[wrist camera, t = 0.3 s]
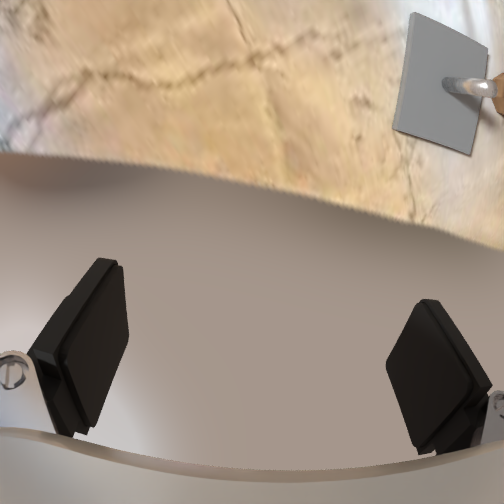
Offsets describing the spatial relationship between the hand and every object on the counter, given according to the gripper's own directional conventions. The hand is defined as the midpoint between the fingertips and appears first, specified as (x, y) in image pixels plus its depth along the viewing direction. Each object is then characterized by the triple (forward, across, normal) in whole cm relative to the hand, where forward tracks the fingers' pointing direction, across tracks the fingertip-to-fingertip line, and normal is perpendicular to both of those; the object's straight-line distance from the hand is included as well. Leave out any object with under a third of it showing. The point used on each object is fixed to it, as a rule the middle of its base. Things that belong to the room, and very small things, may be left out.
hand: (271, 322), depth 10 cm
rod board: (+31, -22, -14) cm, 40 cm away
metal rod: (+29, -22, -14) cm, 39 cm away
